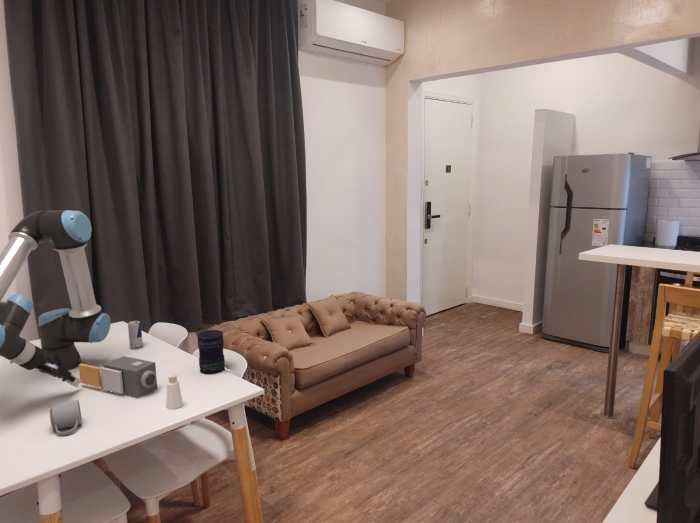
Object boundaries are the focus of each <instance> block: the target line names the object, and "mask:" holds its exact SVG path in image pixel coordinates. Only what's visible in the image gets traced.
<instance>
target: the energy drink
mask: <svg viewBox="0 0 700 523" xmlns="http://www.w3.org/2000/svg"><path fill="white" fill-rule="evenodd" d="M127 329H128V340H129V349H130V350H132V349H137V350H141V349H143V347H144V344H143V343H144V341H143V331H142V330H143V329H142V323H141V321H140V320H131V321H128V323H127ZM140 348H141V349H140Z"/></svg>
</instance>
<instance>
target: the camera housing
mask: <svg viewBox="0 0 700 523" xmlns="http://www.w3.org/2000/svg"><path fill="white" fill-rule="evenodd" d="M103 367H104V368H109V369H113V370H118V371H122V381H123V392H124V393H122V394H123V396H126V395H127V397H130V396H131V398H134V397H135V399H139V397H140V398H142V397H143V396H145V395H148V394H149V393H151V392H152V391H155V390H156V389H158V382H157V381H158V379H157V370H156V367H157V366H156V362H154V361H149V360H144V359H140V358H135V357H131V356H125V355H123V356H120V357H117V358H115V359H113V360H110V361H108V362H105V363H103V364H102V368H103ZM122 394H120V393H119V395H122ZM141 396H142V397H141Z"/></svg>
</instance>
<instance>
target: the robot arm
mask: <svg viewBox="0 0 700 523" xmlns="http://www.w3.org/2000/svg"><path fill="white" fill-rule="evenodd" d="M91 224H92V223H91V221H90V219H89V217H88V216H87V215H86V214H84V213H83V212H82V211H79V210H71V209H64V210H47V209H46V210H43V209H42V210H38V211H33V212H32V213H30V214H28V215H26V216H25V217H24V218H23V219H21V220H20V221H19V222H18V223H17V224H16V225H15V226H14V227H13V228H12V230H11V231H10V233H9V234H8V242H7V243H6V245H5V246H4V248H3V250H2V251H1V253H0V357H2V358H4V359H6V360H8V361H9V364H13V363H14V364H15V365H18V366H19V367H21V368H22V369H25V370H28V371H31V370H34V369H36V370H38V371H39V372H42V373H46V374H48V375H49V376H52V377H54V378H57V379H61V382H63V383H64V382H66V383H67V384H69V385H71V386H73V387H76V388H78V387H79V385H80V382H81V379H80V377H77V376H76V375H74V374H73V372H71V371H69V370H72V369H74V368H77V367H79V366H78V365H79V364H82V357H81V355H80V353H79V351H78V349H77V347H76V345H75V344H76V343H90V344H92V343H100V342H103V341H104V340H105V339H106V338H107V336H108V335H109V332H110V329H111V325H112V324H111V317H110V315H109V314H108V313H105V312H103V311H102V307H101V305H100V304H97V302H96V297H95V294H94V288H93V285H92V284H93V283H92V279H91V274H90V269H89V265H88V260H87V259H88V258H87V256H86V250H85V249H86V246H88V241H89V240H90V238H91V237H92V232H93V230H92V229H93V228H92V225H91ZM45 242H46V243H48V242H50V243H51V246H52V249H53V250H54V251H56V252H58V255H59V259H60V263H61V267H62V272H63V276H64V280H65V283H66V284H65V285H66V289H67V293H68V297H69V302H70V306H71V309H70V308H69V307H67V308H57V309H53V310H50V311H46V312H44V313H41V314H40V315H39V316H38V318H37V320H38V323H37V324H38V326H37V327H38V331H39V339H40V347H41V348H40V347H39V346H37V345H35V344H34V343H32V342H31V341H29V340H28V339H26V338H23V337H21V336H20V335H21V334H22V331H23V329H24V327H25V325H26V324H27V321H28V319H29V318H30V315H31V313H32V310H33V307H34V304H35V303H34V300H32V299H31V298H30V297H28V296H27V295H24V294H18V293H14V294H11V295H9V297H8V298H7V299H6V301H2V300H3V298H4V297H5V295H6V293H7V292H8V290H9V288H10V287H11V285H12V284H13V282H14V280H15V279H16V277H17V275H19V274H18V273H19V272H20V270H21V268H22V267H23V265H24V263H25V262H26V260H27V259H28V257H29V255H30V253H31V252H32V251H35V250H36V249H37V248H38V246H39V245H40V244H41V243H45Z"/></svg>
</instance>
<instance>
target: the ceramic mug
mask: <svg viewBox="0 0 700 523" xmlns="http://www.w3.org/2000/svg"><path fill="white" fill-rule="evenodd" d="M49 418H50V424H51V428H52V429H53V430H55V432H56V433H57V435H59V436H63V437H64V436H66V437H67V436H69V435H71V434H74V432H76V430H77V428H78V427H79V426H80V425H81V426H82V424H83V420H82V418H83V417H82V412H81V405H80V401H79V399H75V400H71V401H68V402H63V403H61V404H57V405H54V406H52V407H50V408H49ZM71 427H72V428H71ZM66 428H71V429H70V430H68V431H60V430H61V429H66Z"/></svg>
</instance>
